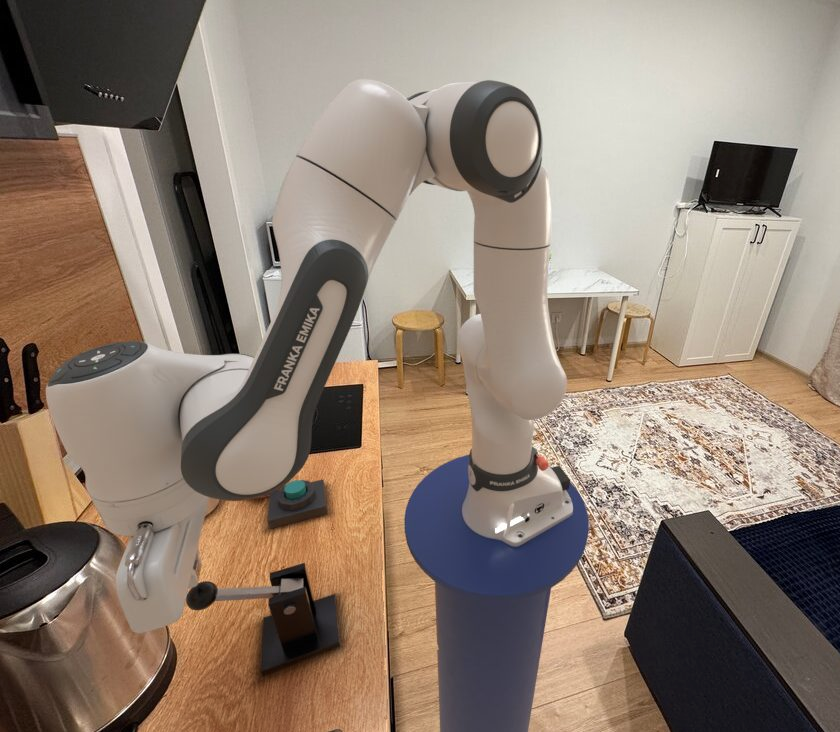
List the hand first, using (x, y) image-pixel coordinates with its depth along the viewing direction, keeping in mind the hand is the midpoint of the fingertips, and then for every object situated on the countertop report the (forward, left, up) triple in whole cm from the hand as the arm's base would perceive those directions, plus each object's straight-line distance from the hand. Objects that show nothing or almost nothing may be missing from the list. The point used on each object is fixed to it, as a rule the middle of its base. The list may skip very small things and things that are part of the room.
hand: (192, 578), depth 50 cm
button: (-9, -27, -14) cm, 32 cm away
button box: (-9, -27, -18) cm, 34 cm away
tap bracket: (-9, 0, -18) cm, 20 cm away
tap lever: (-4, 0, -7) cm, 8 cm away
